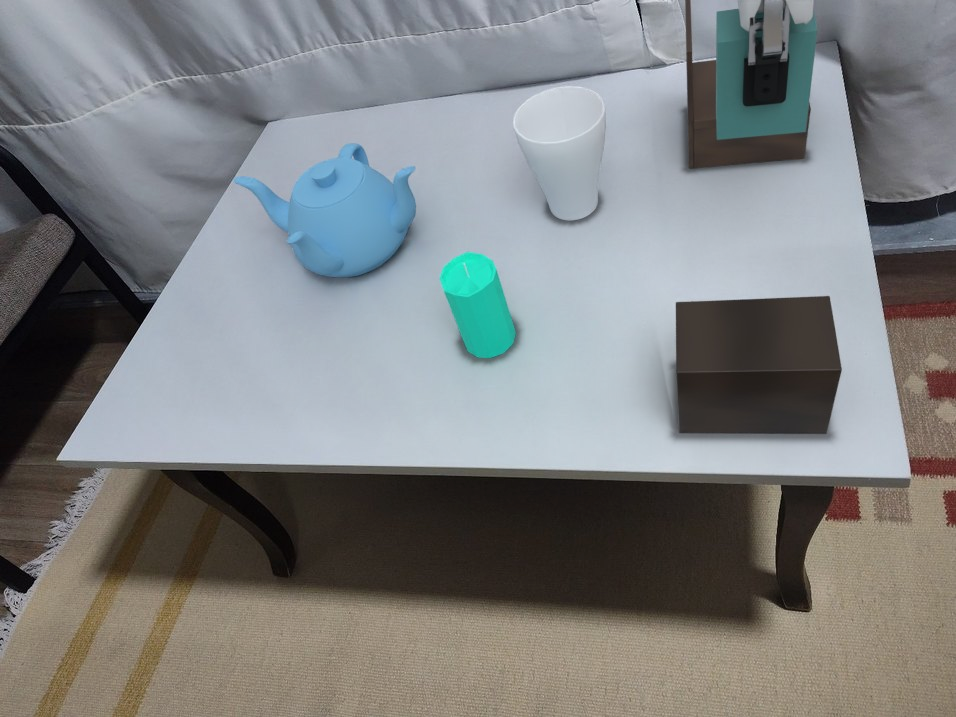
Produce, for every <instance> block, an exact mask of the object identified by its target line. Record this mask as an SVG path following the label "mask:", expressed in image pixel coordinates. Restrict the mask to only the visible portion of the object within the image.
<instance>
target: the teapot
mask: <svg viewBox="0 0 956 717" xmlns="http://www.w3.org/2000/svg"><path fill="white" fill-rule="evenodd" d="M368 158H369V157H368V156H367V152H366V150H365V149H364V147H363V146H362V145H361V144H359V143H355V142H349V143H347V144H345V145H343V146H342V147H341V148H340V150H339V152H338V154H337V157H334V158H328V159H326V160H322V161H320V162H318V163H316V164H314V165H313V166H311V167H309V168H308V169H307V170H305V171H304V172H303V173H302V174H301V175H300V176H299V177H298V179H297V180H296V181H295V183H294V185H293V187H292V191H291V194H290V198H289V201H288V200H285V199H283V198H281V197H280V196H279V195H277V194H276V193H275V192H274V191H273V190H272V189H271V188H269V186H267V185H266V184H265V183H264V182H262V181H261V180H259V179H258V178H254V177H251V176H236V177H235V178H233V182H234V183H235V184H236V185H239V186H240V187H242V188H245V189H247V190H248V191H249V192H251V193H252V194H253V195H254V196H255V197H256V199H257V200H258V201H259V203H260V204H261V206H262V207H263V210H264V211H265V213H266V215H267V216H268V217H269V219H270V220H271V222H272V223H273V224H275V226H276V227H278V228H279V229H280V230H282V231H284V232H286V233H287V234H288V238H287V239H286V244H289V245H291V248H292V252H293V253H294V255H295V257H296V259H297V261H298V262H299V263H300V264H301V265H302V266H303V267H304V268H305V269H307V270H308V271H310V272H312V273H315V274H317V275H321V276H324V277H329V278H331V277H332V278H352V277H353V278H354V277H357V276H361V275H364V274H368V273H369V272H372V271H374V270H376V269H377V268H379V267H381V266H382V265H384V264H385V263H386V262H388V261H389V260H390V259H391V258H392V257H393V256H394V255H395V254H396V252H397V251H398V249H400V247H401V245H402V243H403V241H404V239H405V237H406V235H407V233H408V231H409V226H411V224H412V222H413V221H414V219H415V217H416V212H417V202H416V198H415V195H414V193H413V191H412V189H411V187H410V184H409V178H410V176H411V175H412V174H413V172H415V170H416V166H414V165H411V166H407V167H405V168H402V169H400V170H399V171H397V172H396V173H395V175H394V177H393V182H392V181H391V180H390V179H388V177H386V176H385V175H384V174H382V173H381V172H380V171H378V170H377V169H375V168H373V167H371V166H370V162H369V159H368Z"/></svg>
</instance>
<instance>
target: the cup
mask: <svg viewBox="0 0 956 717" xmlns="http://www.w3.org/2000/svg"><path fill="white" fill-rule="evenodd" d="M606 110H607V108H606V104H605V100H604V99H603V98H602V96H601V95H600V94H599V93H597V92H596V91H594V90H592V89H590V88H587V87H583V86H577V85H567V86H566V85H565V86H557V87H551V88H548V89H545V90H543V91H540V92H538V93H536V94H535V95H532V96H530V97H529V98H528V99H526V100H525V101H524V102H523V103H522V104H521V105H520V106H519V107H518V108H517V110H516V111H515V113H514V114H513V117H512V118H513V119H512V128H513V132H514V134H515V138H516V140H517V144H518V146H519V148H520V150H521V152H522V155H523V157H524V159H525V161H526V163H527V165H528V167H529V168H530V170H531V172H532V174H533V175H534V177H535V179H536V181H537V182H538V184H539V186H540V188H541V190H542V192H543V193H544V195H545V199H546V201H547V204H548V207H549V210H550V212H551V214H552V215H553V216H554V217H555V218H557V219H559V220H562V221H576V220H581V219H583V218H587V217H588V216H589V215H591V214H592V213H593V212H594V211H595V210H596V209H597V207H598V205H599V179H600V171H601V165H602V160H603V155H604V150H605V141H606V131H607V111H606Z"/></svg>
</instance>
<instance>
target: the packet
mask: <svg viewBox="0 0 956 717" xmlns="http://www.w3.org/2000/svg"><path fill="white" fill-rule="evenodd" d="M715 14H716V16H715V17H716V18H715V19H716V20H715V21H716V25H715V26H716V27H715V28H716V29H715V31H716V34H715V36H716V37H715V38H716V42H715V43H716V46H715V51H716V52H715V60H716V127H717V140H721V139H732V138H744V137H755V136H766V135H777V134H789V133H800V132H806V126H807V117H808V108H809V101H810V100H811V90H812V81H813V73H814V62H815V56H816V55H815V54H816V46H817V37H818V27H817V20H816V15H815V14H816V13H815V8H814V7H813V17H812V19H811V20H810V21H809V22H808V23H807V24H804V25H803V24H802V23H800V24H795V23H794V20H793V18H792V15H791V13H790V24H789V40H788V53H789V68H788V80H787V91H786V100H785V101H784V102H783V103H778V104H768V105H758V106H748V107H747V106H744V105H743V75H744V58H748V33H749V31H746V30H745V29H743V28H742V27H741V24H740V15H739V8H733V9H726V10H725V9H724V10H719V11H718V10H717V11H716V13H715ZM756 18H763V13H756V15H755V19H756ZM762 37H763V31H757V38H756V45H757V43H758V41H760V40H762Z"/></svg>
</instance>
